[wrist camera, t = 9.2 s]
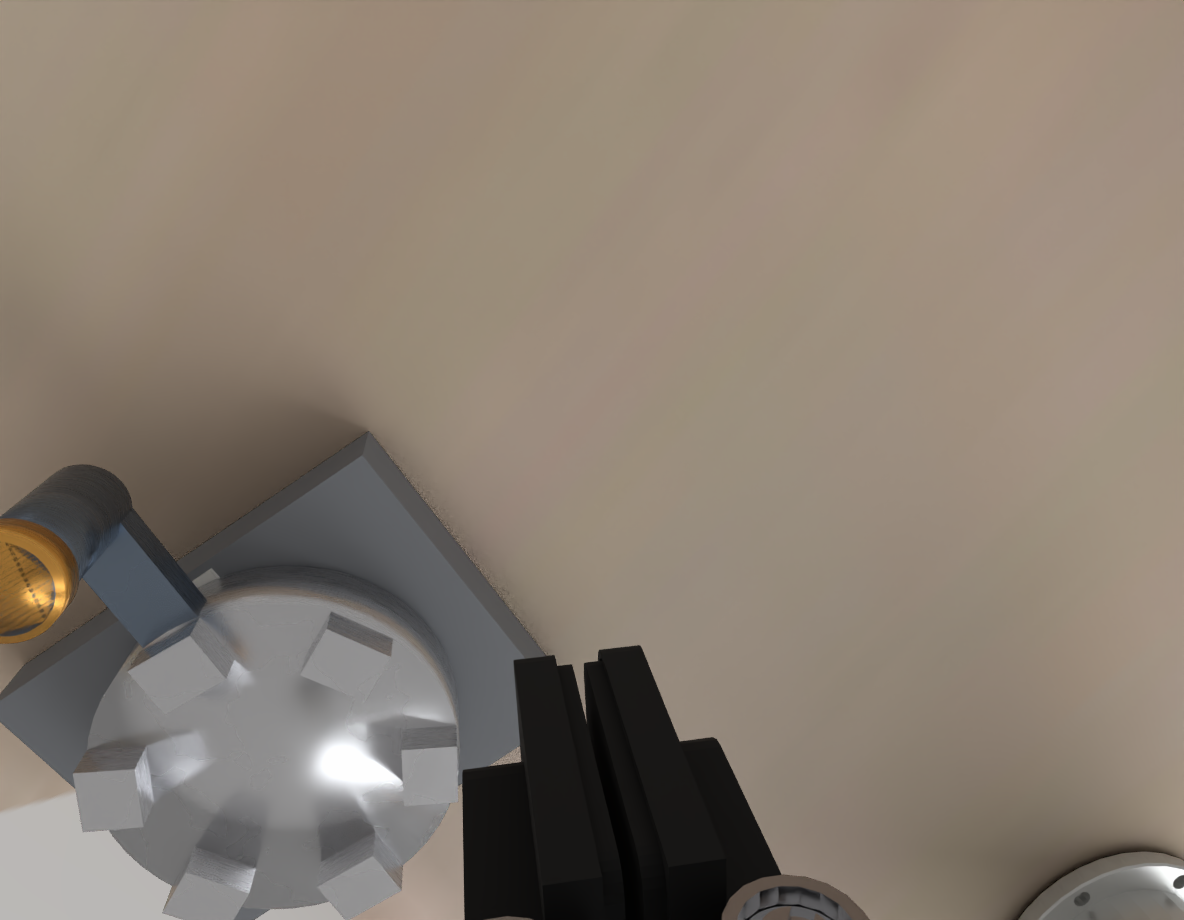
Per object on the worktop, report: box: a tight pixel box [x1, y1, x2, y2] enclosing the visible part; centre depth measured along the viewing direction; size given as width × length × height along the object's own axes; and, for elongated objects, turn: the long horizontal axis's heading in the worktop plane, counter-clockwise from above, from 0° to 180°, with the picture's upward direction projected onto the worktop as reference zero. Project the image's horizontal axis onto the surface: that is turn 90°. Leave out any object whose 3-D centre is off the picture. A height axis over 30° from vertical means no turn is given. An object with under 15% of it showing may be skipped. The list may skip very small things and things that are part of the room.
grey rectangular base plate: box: [0, 431, 546, 920], centre depth 35 cm, size 13×16×3 cm
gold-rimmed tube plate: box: [0, 465, 460, 920], centre depth 29 cm, size 18×12×8 cm, turn 28°
